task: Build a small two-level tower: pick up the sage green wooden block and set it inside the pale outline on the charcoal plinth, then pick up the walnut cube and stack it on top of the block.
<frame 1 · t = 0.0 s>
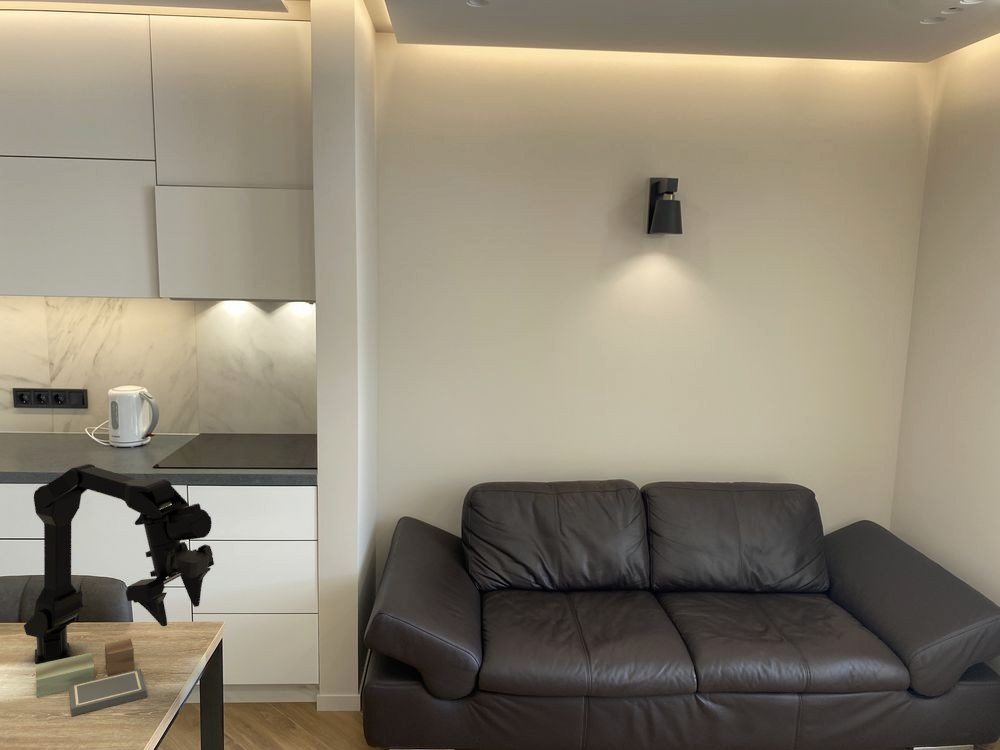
hand: (181, 615, 146), 15 cm above the table, tool pointing down, fingers open, 9 cm apart
sage block: (65, 683, 147), on the table
plinth: (108, 694, 143), on the table
walnut cube: (119, 668, 153), on the table
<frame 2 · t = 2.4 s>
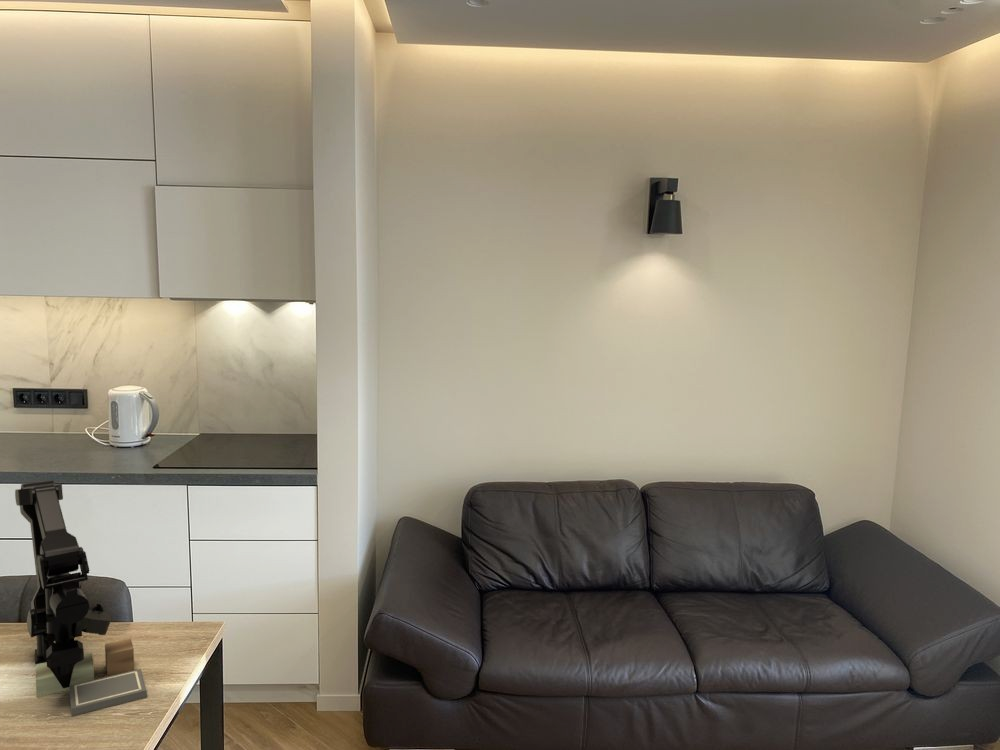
hand: (65, 677, 147), 1 cm above the table, tool pointing down, fingers open, 8 cm apart
nothing on the table moved.
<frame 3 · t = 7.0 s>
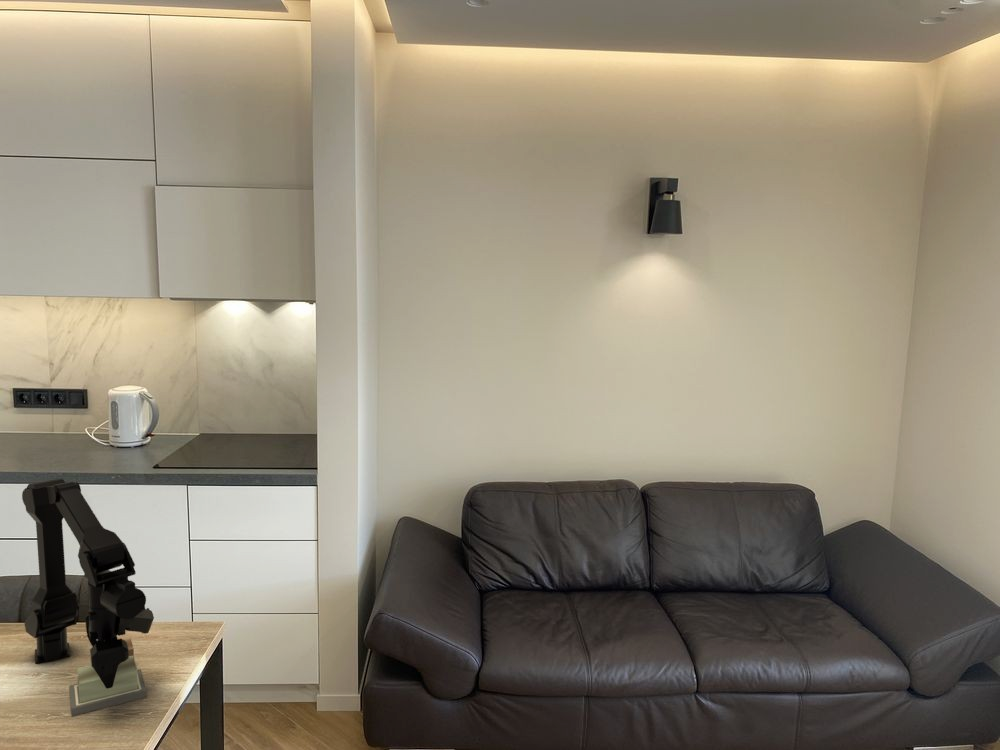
hand: (107, 676, 143), 4 cm above the table, tool pointing down, fingers open, 9 cm apart
sage block: (107, 687, 143), point 1 cm above the table, touching plinth
everything else where it was.
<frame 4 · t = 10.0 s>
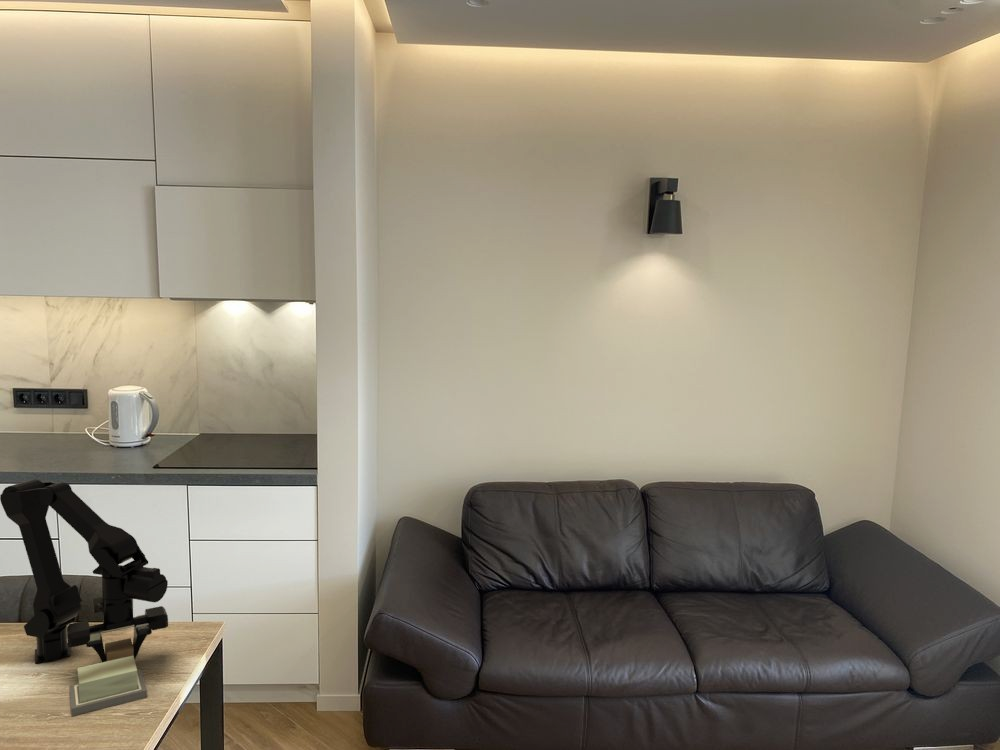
hand: (119, 663, 153), 1 cm above the table, tool pointing down, fingers closed on walnut cube, 5 cm apart
walnut cube: (119, 667, 153), on the table, touching gripper
everything else where it was.
when the fingers open (8 cm above the table, at t = 12.8 s): walnut cube drops 1 cm, resting on sage block.
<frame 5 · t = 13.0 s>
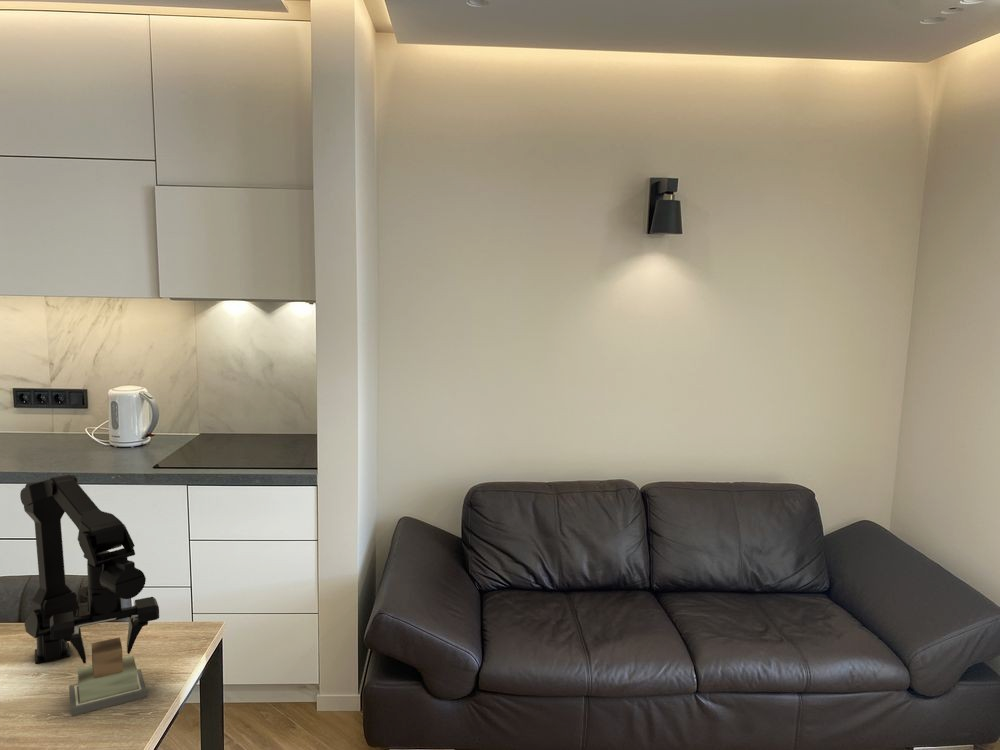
hand: (106, 657, 142), 8 cm above the table, tool pointing down, fingers open, 7 cm apart
sage block: (107, 687, 143), point 1 cm above the table, touching plinth, walnut cube
walnut cube: (107, 669, 143), point 5 cm above the table, touching sage block
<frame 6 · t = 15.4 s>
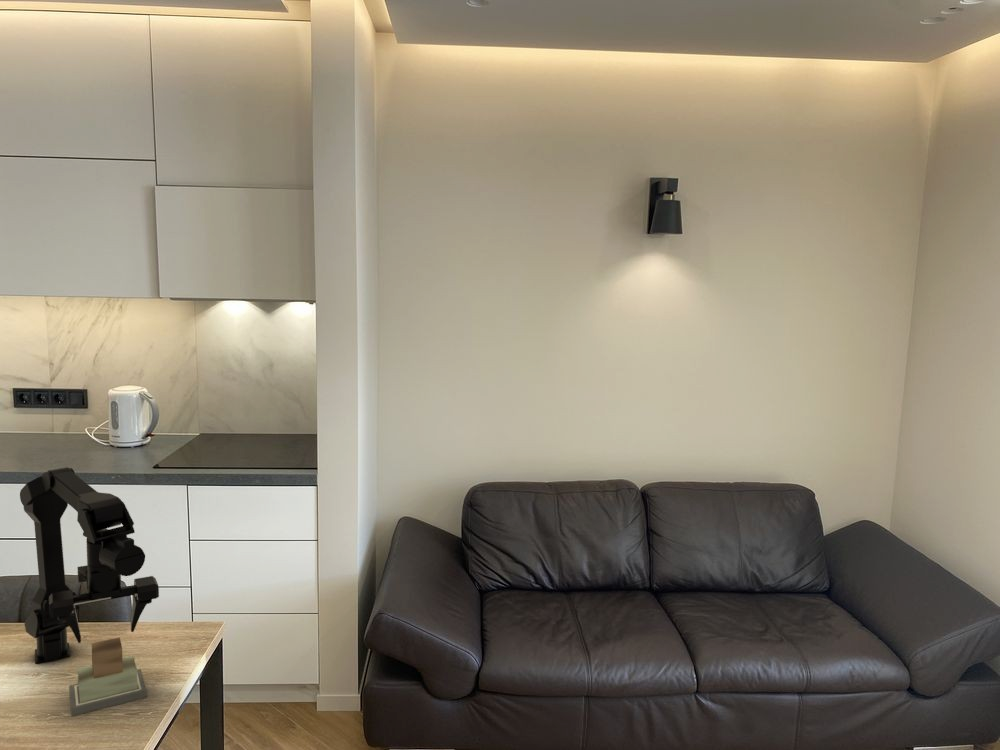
hand: (106, 636, 142), 12 cm above the table, tool pointing down, fingers open, 9 cm apart
nothing on the table moved.
at the end: sage block 0.1 cm off-centre on the plinth, point 1.5 cm above the plinth's base; walnut cube 0.1 cm off-centre on the sage block, point 4.0 cm above the sage block's base; walnut cube tilted 0° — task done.
